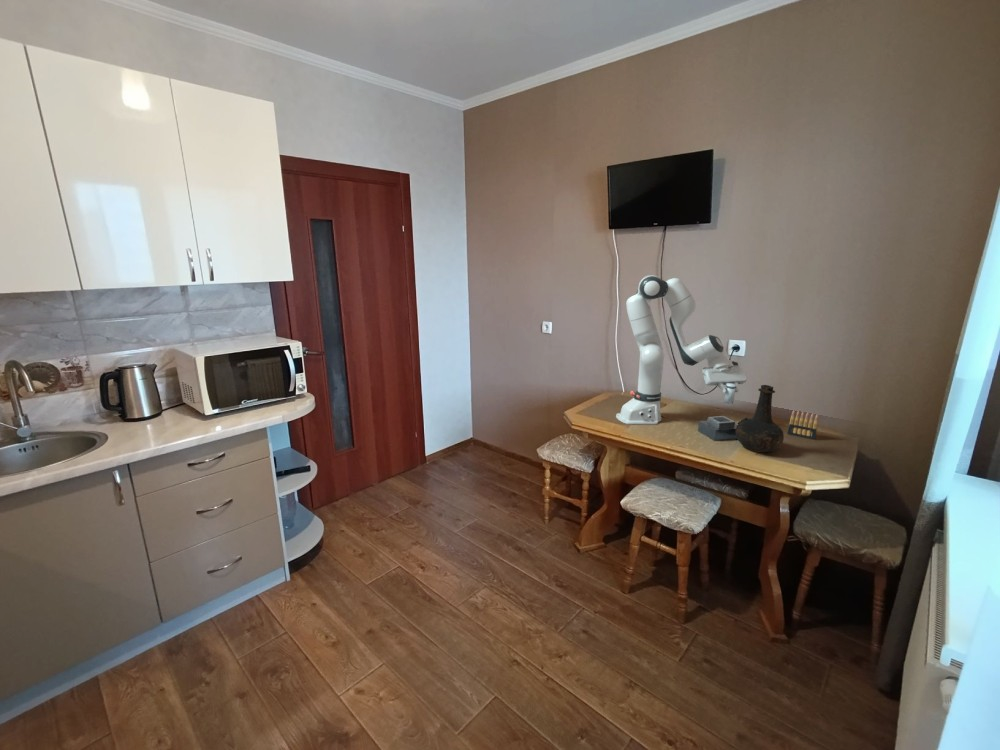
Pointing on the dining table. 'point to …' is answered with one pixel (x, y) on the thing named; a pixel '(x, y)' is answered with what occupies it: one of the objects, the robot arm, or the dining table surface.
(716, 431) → the square socket base
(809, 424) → the ammunition clip
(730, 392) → the dome-capped cylinder
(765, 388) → the glass bottle
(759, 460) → the dining table surface
